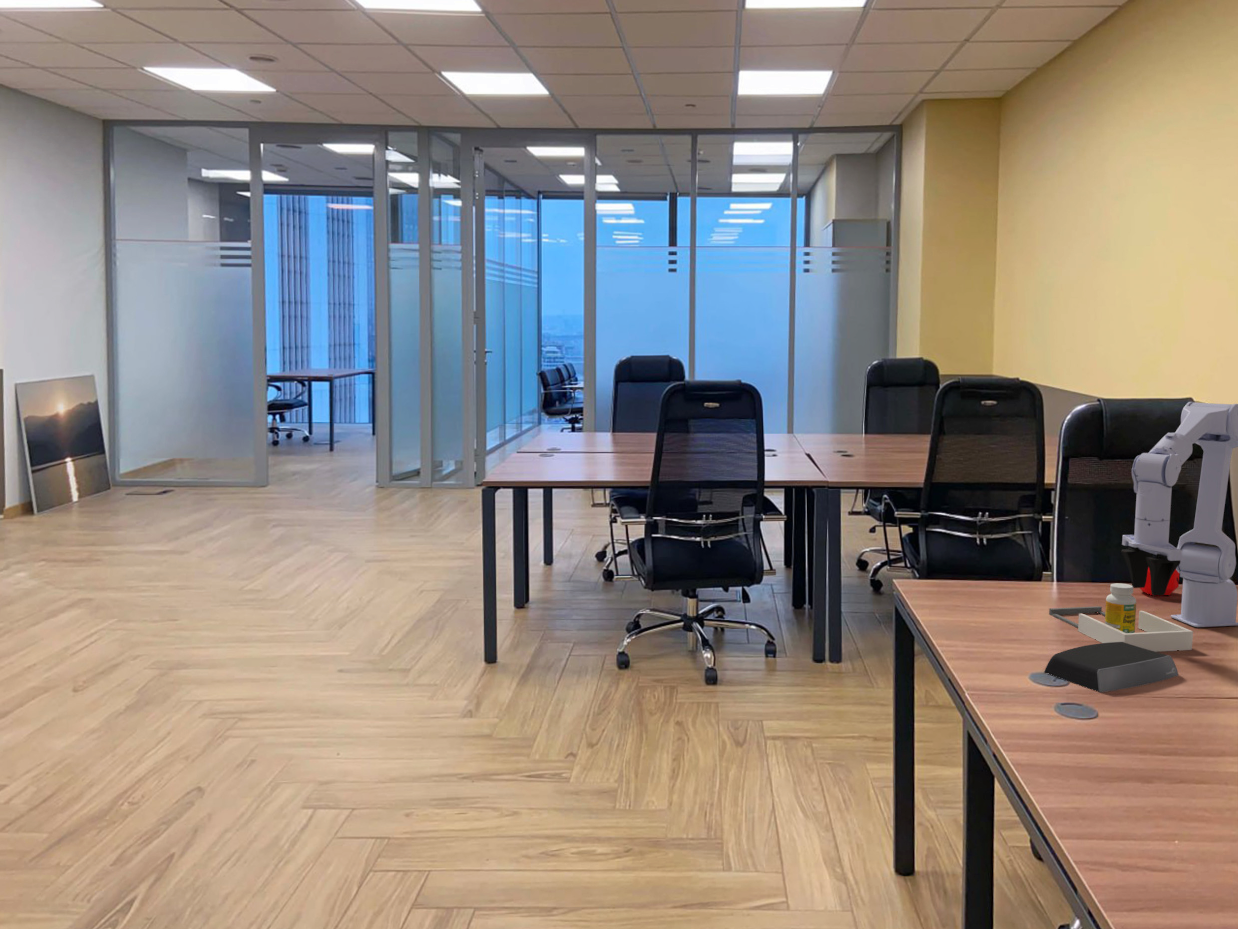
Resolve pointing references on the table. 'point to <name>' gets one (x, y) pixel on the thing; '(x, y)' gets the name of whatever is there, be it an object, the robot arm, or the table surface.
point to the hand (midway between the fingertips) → (1148, 591)
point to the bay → (1155, 638)
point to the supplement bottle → (1121, 608)
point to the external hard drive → (1111, 666)
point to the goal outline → (1074, 612)
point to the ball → (1170, 588)
